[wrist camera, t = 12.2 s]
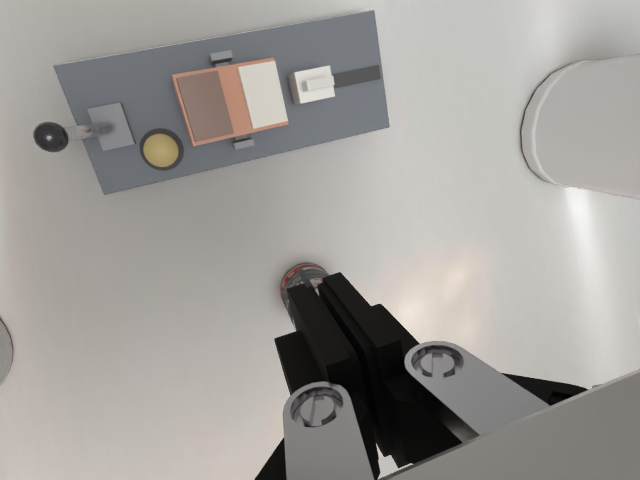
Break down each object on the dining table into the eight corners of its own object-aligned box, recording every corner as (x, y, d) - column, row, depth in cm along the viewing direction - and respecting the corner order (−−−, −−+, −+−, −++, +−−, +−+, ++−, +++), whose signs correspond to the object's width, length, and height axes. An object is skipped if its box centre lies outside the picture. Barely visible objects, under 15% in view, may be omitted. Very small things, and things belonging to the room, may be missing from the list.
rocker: (191, 145, 32) (194, 146, 30) (170, 76, 30) (172, 73, 28) (284, 124, 34) (291, 124, 33) (270, 59, 32) (276, 56, 31)
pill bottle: (282, 261, 42) (304, 301, 33) (332, 262, 44) (367, 300, 35) (277, 310, 44) (296, 361, 35) (326, 310, 45) (357, 358, 36)
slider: (293, 104, 35) (305, 103, 31) (287, 75, 34) (298, 70, 30) (326, 97, 35) (341, 95, 31) (320, 68, 35) (335, 62, 31)
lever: (103, 141, 31) (34, 156, 24) (94, 117, 30) (20, 126, 23) (124, 136, 31) (60, 151, 24) (116, 112, 30) (47, 120, 23)
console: (111, 188, 36) (96, 200, 31) (65, 68, 32) (39, 58, 27) (376, 126, 41) (402, 127, 36) (361, 16, 37) (386, 0, 32)
